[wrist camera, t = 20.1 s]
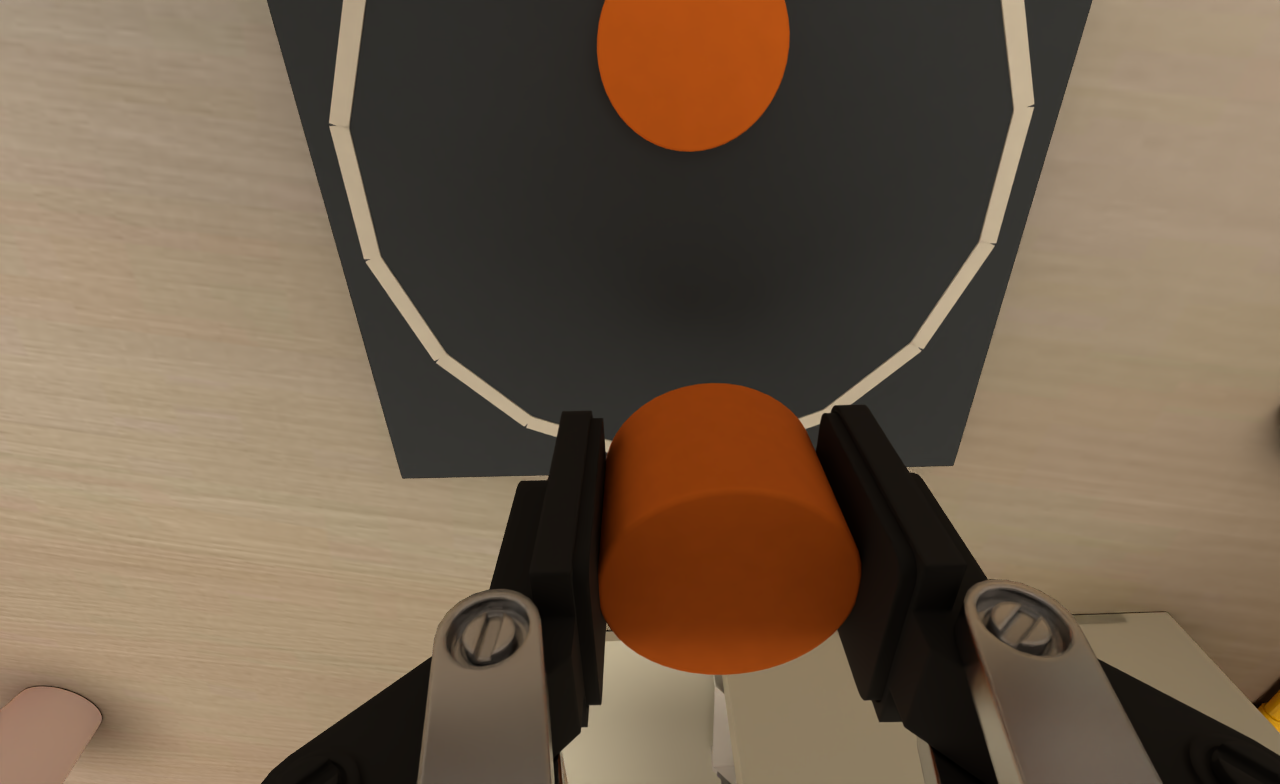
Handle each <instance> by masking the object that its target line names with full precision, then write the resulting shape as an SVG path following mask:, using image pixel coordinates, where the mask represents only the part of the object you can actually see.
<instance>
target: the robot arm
mask: <svg viewBox="0 0 1280 784" xmlns="http://www.w3.org/2000/svg"><path fill="white" fill-rule="evenodd" d="M816 454H817V456H818V458H819V461H820V463H821V465H822V468H823V470H824V472H825V474H826V477H827V479H828V481H829V484H830V486H831V488H832V491H833V493H834V495H835V497H836V500H837V502H838V504H839V507H840V509H841V511H842V514H843V516H844V518H845V520H846V523H847V525H848V527H849V530H850V532H851V534H852V536H853V539H854V541H855V543H856V546H857V548H858V551H859V555H860V559H861V580H860V585H859V590H858V594H857V598H856V602H855V605H854V607H853V609H852V611H851V613H850V614H849V616H848V617H847V619H846V620H845V621H844V623H843V624H842V625H841V626H840V627H839V628H838V629H837V631H838V634H839V637H840V639H841V642H842V645H843V648H844V651H845V654H846V657H847V660H848V663H849V666H850V669H851V672H852V675H853V678H854V681H855V684H856V687H857V690H858V692H859V695H860V697H861V698H862V699H863V700H864V701H868V700H871V701H872V703H873V706H874V709H875V712H876V715H877V718H878V720H879V722H902V723H903V726H904V727H905V728H906V729H907V730H909V731H910V732H912V733H913V734H915V735H916V736H917V749H918V754H919V758H920V763H921V768H922V773H923V778H924V783H925V784H1280V756H1279V755H1278V754H1276V753H1275V752H1273V751H1272V750H1270V749H1268V748H1267V747H1265V746H1263V745H1262V744H1260V743H1258V742H1257V741H1255V740H1254V739H1252V738H1250V737H1248V736H1246V735H1244V734H1242V733H1240V732H1238V731H1236V730H1234V729H1232V728H1230V727H1229V726H1227V725H1225V724H1223V723H1221V722H1219V721H1217V720H1215V719H1213V718H1211V717H1209V716H1207V715H1205V714H1204V713H1202V712H1200V711H1198V710H1196V709H1194V708H1192V707H1190V706H1188V705H1186V704H1184V703H1182V702H1180V701H1179V700H1177V699H1175V698H1173V697H1171V696H1169V695H1167V694H1165V693H1163V692H1161V691H1159V690H1157V689H1155V688H1154V687H1152V686H1150V685H1148V684H1146V683H1144V682H1142V681H1140V680H1138V679H1136V678H1134V677H1132V676H1130V675H1129V674H1127V673H1125V672H1123V671H1121V670H1119V669H1117V668H1115V667H1113V666H1111V665H1109V664H1107V663H1105V662H1104V661H1102V660H1100V659H1098V658H1097V657H1096V655H1095V653H1094V651H1093V650H1092V648H1091V646H1090V644H1089V642H1088V640H1087V638H1086V636H1085V634H1084V632H1083V631H1082V629H1081V627H1080V625H1079V624H1078V623H1077V621H1076V620H1075V618H1074V617H1073V616H1072V614H1071V613H1070V612H1069V611H1068V610H1066V609H1065V608H1064V607H1063V606H1062V605H1061V604H1060V603H1059V602H1058V601H1056V600H1055V599H1053V598H1051V597H1050V596H1048V595H1046V594H1045V593H1043V592H1042V591H1040V590H1037V589H1035V588H1032V587H1030V586H1028V585H1025V584H1023V583H1018V582H1014V581H1009V580H996V579H989V580H988V579H987V577H986V576H985V574H984V573H983V571H982V570H981V568H980V566H979V565H978V563H977V562H976V560H975V559H974V557H973V556H972V554H971V553H970V551H969V550H968V548H967V547H966V545H965V543H964V542H963V540H962V539H961V537H960V536H959V534H958V533H957V531H956V530H955V528H954V527H953V525H952V524H951V522H950V520H949V519H948V517H947V516H946V514H945V513H944V511H943V510H942V508H941V507H940V505H939V504H938V502H937V501H936V499H935V497H934V496H933V494H932V493H931V491H930V490H929V488H928V487H927V485H926V484H925V482H924V481H923V479H922V478H921V477H920V476H919V475H918V474H915V473H909V471H908V470H907V468H906V466H905V465H904V463H903V462H902V460H901V458H900V457H899V455H898V454H897V452H896V451H895V449H894V447H893V446H892V444H891V443H890V441H889V439H888V438H887V436H886V435H885V433H884V432H883V430H882V428H881V427H880V425H879V424H878V422H877V420H876V419H875V417H874V416H873V414H872V413H871V411H870V409H869V408H868V407H867V406H866V405H835V406H833V408H832V410H831V413H823V414H822V417H821V421H820V427H819V434H818V440H817V447H816ZM605 470H606V451H605V435H604V421H603V418H593V415H592V411H563V412H562V414H561V419H560V423H559V428H558V433H557V438H556V443H555V448H554V453H553V458H552V462H551V467H550V472H549V477H548V480H540V481H521V482H520V483H519V484H518V487H517V490H516V493H515V497H514V501H513V504H512V508H511V512H510V515H509V519H508V523H507V527H506V530H505V534H504V538H503V541H502V545H501V549H500V552H499V556H498V560H497V563H496V567H495V571H494V574H493V578H492V582H491V586H490V589H489V590H486V591H482V592H479V593H475V594H473V595H471V596H469V597H467V598H465V599H463V600H462V601H460V602H458V603H457V604H456V605H455V606H454V607H453V608H452V609H450V610H449V611H448V612H447V613H446V615H445V616H444V618H443V619H442V621H441V622H440V624H439V625H438V628H437V631H436V635H435V638H434V644H433V653H432V657H430V658H429V659H427V660H426V661H425V662H423V663H422V664H420V665H419V666H417V667H416V668H415V669H413V670H412V671H410V672H409V673H407V674H406V675H404V676H403V677H402V678H400V679H399V680H397V681H396V682H394V683H393V684H392V685H390V686H389V687H387V688H386V689H384V690H383V691H382V692H380V693H379V694H377V695H376V696H374V697H373V698H371V699H370V700H369V701H367V702H366V703H364V704H363V705H361V706H360V707H359V708H357V709H356V710H354V711H353V712H351V713H350V714H349V715H347V716H346V717H344V718H343V719H341V720H340V721H338V722H337V723H336V724H334V725H333V726H331V727H330V728H328V729H327V730H326V731H324V732H323V733H321V734H320V735H318V736H317V737H315V738H314V739H313V740H311V741H310V742H308V743H307V744H305V745H304V746H303V747H301V748H300V749H298V750H297V751H295V752H294V753H293V754H291V755H290V756H288V757H287V758H286V759H285V760H284V761H283V762H281V763H280V764H279V765H278V766H277V767H275V768H274V769H273V770H272V771H271V772H270V773H269V774H268V776H267V777H266V778H265V779H264V781H263V782H262V783H261V784H564V774H563V762H562V750H563V749H564V748H565V747H566V746H567V745H568V744H569V743H570V742H571V741H573V740H574V739H575V738H576V737H577V736H578V735H579V734H580V733H581V727H588V718H589V705H601V704H602V692H603V673H604V655H605V636H606V620H605V619H604V617H603V615H602V612H601V608H600V597H599V584H598V563H599V550H600V537H601V523H602V510H603V497H604V483H605Z"/></svg>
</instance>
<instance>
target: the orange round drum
mask: <svg viewBox="0 0 1280 784" xmlns="http://www.w3.org/2000/svg"><path fill="white" fill-rule="evenodd" d="M860 580H861V559H860V555H859V551H858V548H857V546H856V543H855V541H854V539H853V536H852V534H851V532H850V530H849V527H848V525H847V523H846V520H845V518H844V516H843V514H842V511H841V509H840V507H839V504H838V502H837V500H836V497H835V495H834V493H833V491H832V488H831V486H830V484H829V481H828V479H827V477H826V474H825V472H824V470H823V468H822V465H821V463H820V461H819V458H818V456H817V454H816V451H815V449H814V447H813V445H812V442H811V440H810V438H809V436H808V433H807V431H806V429H805V428H804V426H803V425H802V423H801V422H800V420H799V419H798V418H797V417H796V416H795V415H794V413H793V412H792V411H791V410H790V409H788V408H787V407H786V406H785V405H783V404H782V403H781V402H779V401H777V400H776V399H774V398H772V397H771V396H769V395H767V394H764V393H762V392H760V391H757V390H755V389H751V388H748V387H744V386H740V385H734V384H727V383H705V384H696V385H691V386H685V387H682V388H678V389H675V390H672V391H669V392H667V393H665V394H662V395H660V396H658V397H656V398H654V399H653V400H651V401H649V402H648V403H646V404H644V405H643V406H642V407H641V408H639V409H638V410H637V411H635V412H634V413H633V414H632V415H631V416H630V417H629V418H628V419H627V420H626V421H625V422H624V424H623V425H622V426H621V428H620V429H619V430H618V432H617V433H616V435H615V437H614V439H613V441H612V442H611V445H610V447H609V450H608V453H607V457H606V470H605V483H604V497H603V510H602V523H601V537H600V550H599V563H598V584H599V597H600V608H601V612H602V615H603V617H604V619H605V620H606V622H607V624H608V626H609V627H610V629H611V630H612V631H613V632H614V634H615V635H616V636H617V637H618V638H619V639H620V640H621V641H622V642H623V643H624V644H625V645H626V646H627V647H629V648H630V649H632V650H633V651H635V652H636V653H637V654H639V655H641V656H643V657H645V658H646V659H648V660H650V661H653V662H655V663H657V664H660V665H662V666H665V667H669V668H672V669H676V670H680V671H685V672H690V673H697V674H706V675H731V674H742V673H749V672H755V671H760V670H764V669H768V668H772V667H775V666H778V665H781V664H784V663H786V662H789V661H791V660H794V659H796V658H798V657H800V656H802V655H804V654H806V653H808V652H809V651H811V650H813V649H814V648H816V647H817V646H819V645H820V644H822V643H823V642H824V641H825V640H827V639H828V638H829V637H830V636H831V635H833V634H834V633H835V632H836V630H837V629H838V628H839V627H840V626H841V625H842V624H843V623H844V621H845V620H846V619H847V617H848V616H849V614H850V613H851V611H852V609H853V607H854V605H855V602H856V598H857V594H858V590H859V585H860Z"/></svg>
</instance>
